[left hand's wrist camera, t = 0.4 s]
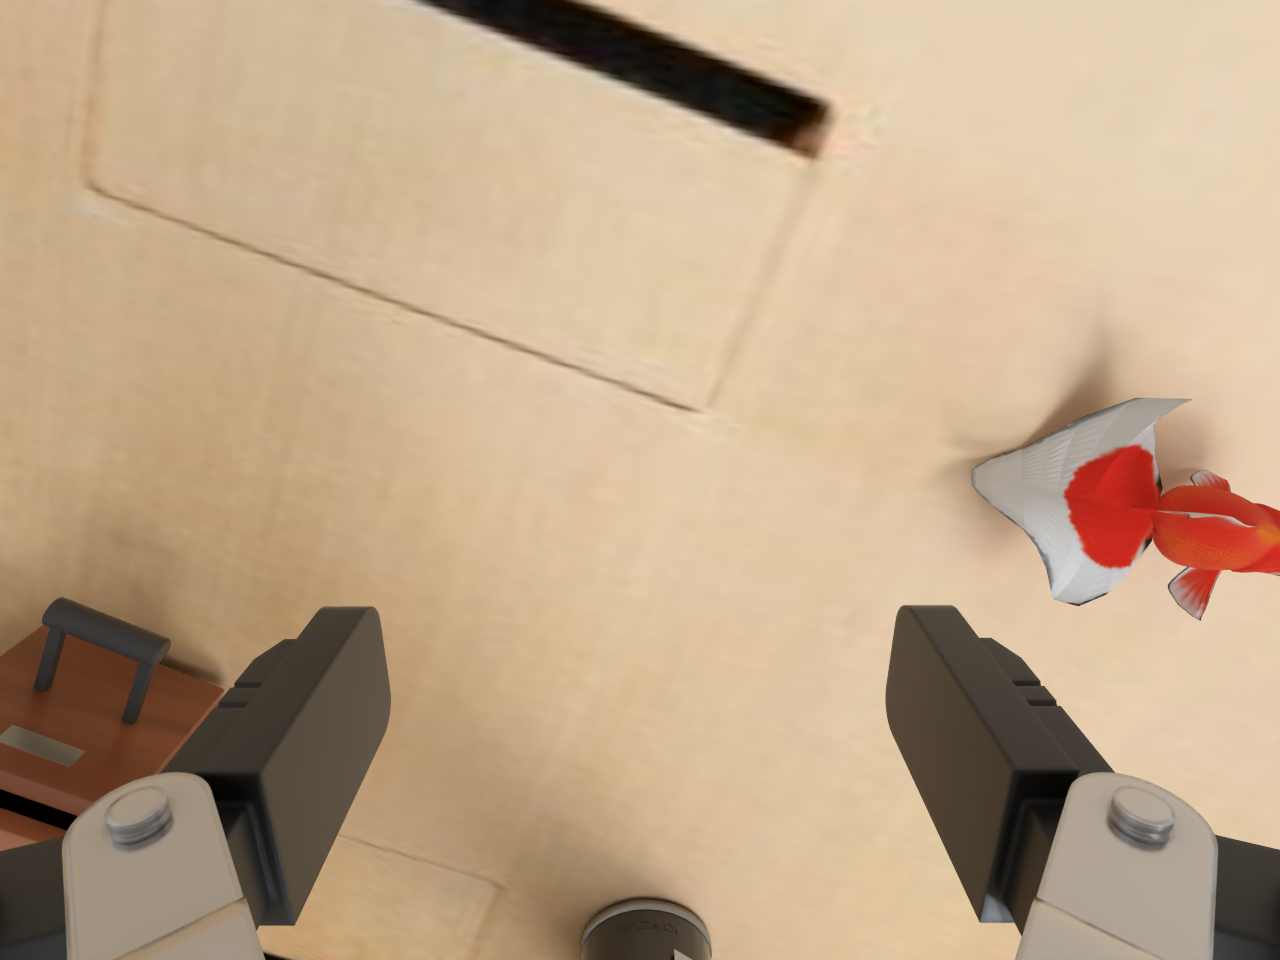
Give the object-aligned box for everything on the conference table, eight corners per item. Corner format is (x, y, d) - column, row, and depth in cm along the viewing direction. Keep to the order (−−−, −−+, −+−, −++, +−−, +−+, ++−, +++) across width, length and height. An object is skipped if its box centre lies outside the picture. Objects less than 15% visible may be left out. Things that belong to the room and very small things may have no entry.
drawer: (70, 540, 42) (-88, 637, 33) (253, 615, 43) (151, 726, 34) (0, 802, 48) (-147, 942, 39) (160, 857, 50) (55, 1004, 41)
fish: (1187, 688, 41) (1304, 718, 31) (920, 538, 45) (950, 523, 35) (1289, 518, 41) (1437, 495, 31) (1013, 384, 45) (1069, 327, 35)
